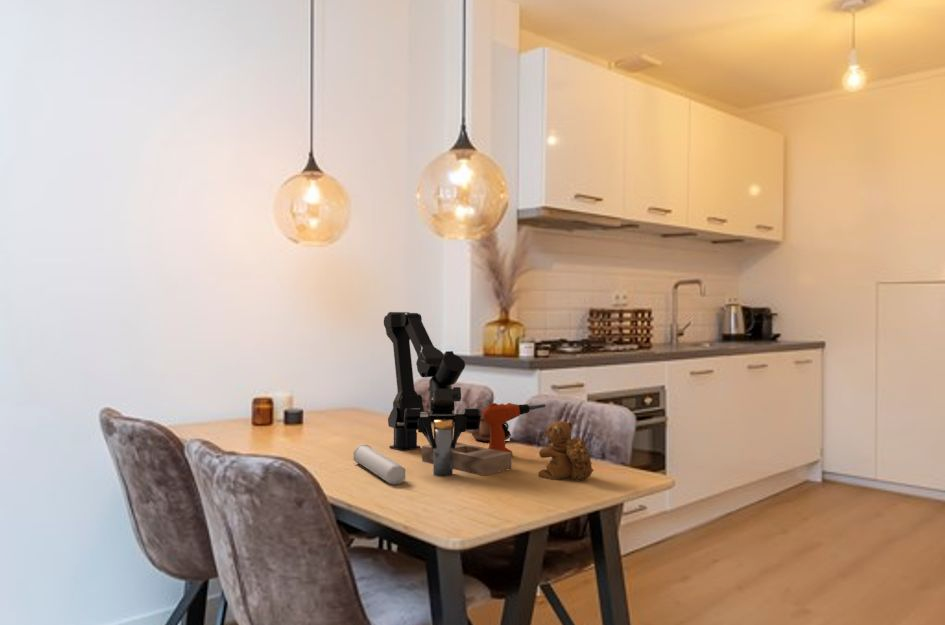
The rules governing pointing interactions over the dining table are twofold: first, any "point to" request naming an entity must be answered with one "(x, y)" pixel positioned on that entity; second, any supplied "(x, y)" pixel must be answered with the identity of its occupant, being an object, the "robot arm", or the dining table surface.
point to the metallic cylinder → (443, 447)
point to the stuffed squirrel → (565, 454)
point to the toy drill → (503, 421)
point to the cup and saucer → (485, 432)
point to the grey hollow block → (473, 459)
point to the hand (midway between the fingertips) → (443, 447)
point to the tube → (379, 464)
